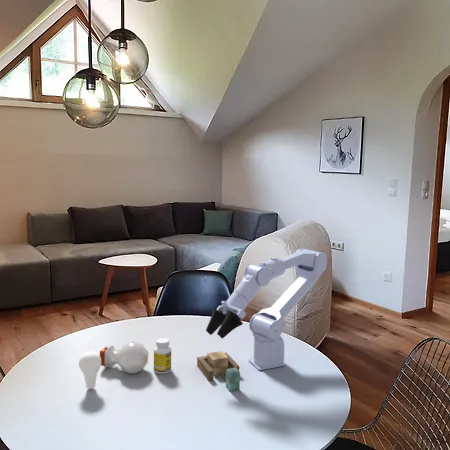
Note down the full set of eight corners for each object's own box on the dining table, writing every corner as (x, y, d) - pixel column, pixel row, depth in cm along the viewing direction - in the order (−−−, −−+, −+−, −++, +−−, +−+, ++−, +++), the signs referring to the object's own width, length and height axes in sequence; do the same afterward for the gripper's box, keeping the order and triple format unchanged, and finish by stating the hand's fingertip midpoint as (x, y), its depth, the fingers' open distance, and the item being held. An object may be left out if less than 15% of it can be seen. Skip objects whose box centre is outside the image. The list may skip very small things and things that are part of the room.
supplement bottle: (168, 375, 139) (168, 344, 137) (151, 373, 140) (151, 343, 138) (173, 367, 144) (173, 337, 143) (157, 365, 145) (157, 336, 144)
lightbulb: (106, 385, 132) (105, 349, 130) (93, 396, 126) (92, 358, 124) (88, 382, 134) (87, 346, 132) (75, 392, 128) (73, 355, 126)
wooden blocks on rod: (221, 365, 146) (222, 349, 145) (242, 389, 131) (243, 371, 130) (207, 368, 144) (207, 351, 143) (226, 392, 129) (226, 374, 128)
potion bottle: (148, 380, 138) (104, 378, 143) (156, 352, 145) (115, 351, 150) (136, 364, 132) (91, 363, 137) (146, 335, 139) (103, 335, 144)
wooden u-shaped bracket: (226, 361, 149) (226, 352, 149) (239, 375, 139) (239, 366, 139) (197, 366, 145) (197, 357, 145) (208, 381, 136) (208, 371, 135)
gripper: (221, 288, 143) (194, 323, 138) (243, 290, 130) (215, 328, 125) (236, 302, 145) (210, 337, 140) (259, 306, 132) (232, 344, 127)
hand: (213, 334), depth 132 cm, fingers open, 7 cm apart
